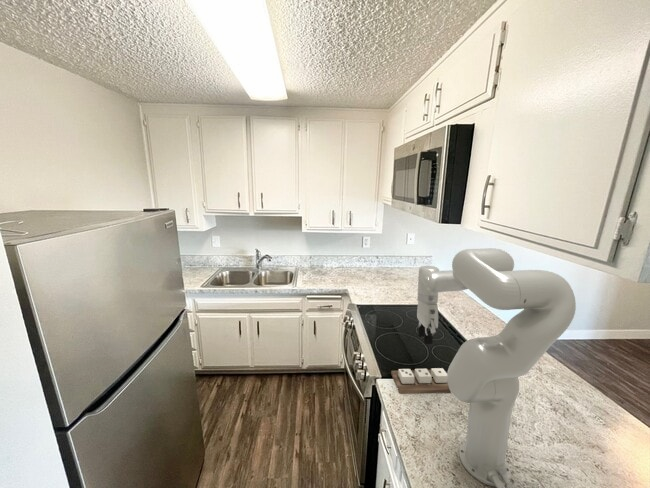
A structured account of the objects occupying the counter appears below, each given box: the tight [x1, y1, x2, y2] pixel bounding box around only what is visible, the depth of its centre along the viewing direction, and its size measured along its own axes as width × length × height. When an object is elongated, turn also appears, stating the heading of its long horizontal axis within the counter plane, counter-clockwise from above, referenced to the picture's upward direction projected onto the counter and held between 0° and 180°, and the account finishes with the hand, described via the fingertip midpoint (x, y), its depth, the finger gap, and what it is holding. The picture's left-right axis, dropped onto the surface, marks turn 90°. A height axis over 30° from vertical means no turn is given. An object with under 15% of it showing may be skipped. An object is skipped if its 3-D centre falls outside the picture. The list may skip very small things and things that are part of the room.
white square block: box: [397, 368, 416, 385], centre depth 107 cm, size 5×5×3 cm
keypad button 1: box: [430, 367, 447, 384], centre depth 107 cm, size 5×5×3 cm
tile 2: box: [414, 368, 433, 384], centre depth 107 cm, size 5×5×3 cm
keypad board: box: [390, 369, 452, 395], centre depth 107 cm, size 12×23×2 cm, turn 91°
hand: (425, 339), depth 104 cm, fingers open, 4 cm apart
